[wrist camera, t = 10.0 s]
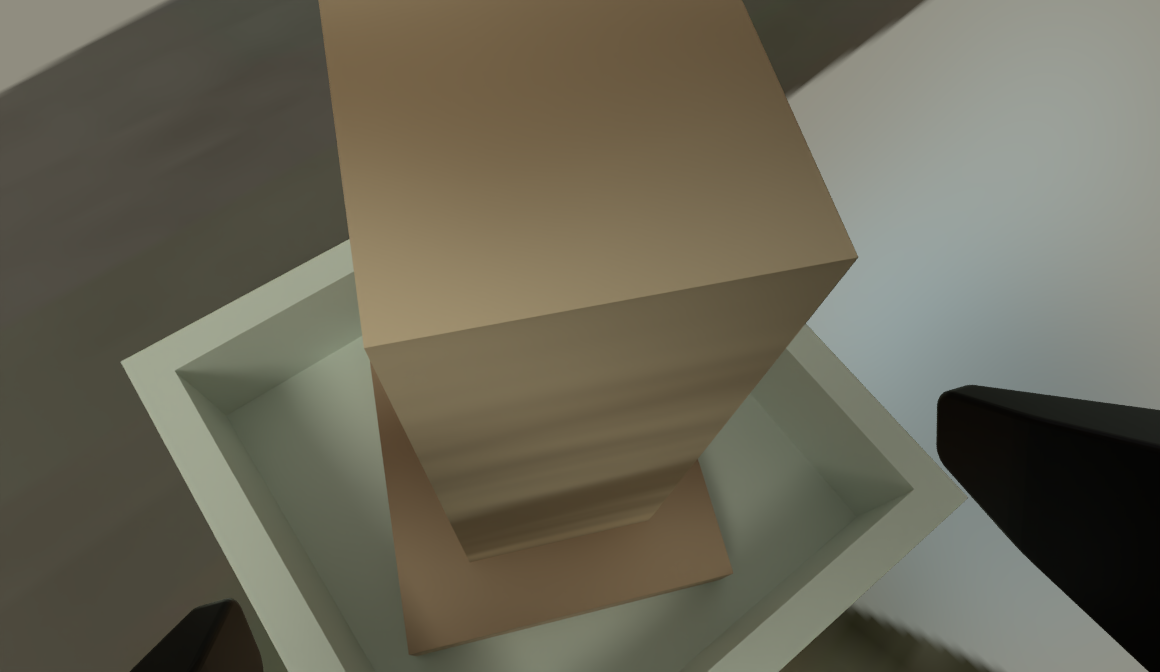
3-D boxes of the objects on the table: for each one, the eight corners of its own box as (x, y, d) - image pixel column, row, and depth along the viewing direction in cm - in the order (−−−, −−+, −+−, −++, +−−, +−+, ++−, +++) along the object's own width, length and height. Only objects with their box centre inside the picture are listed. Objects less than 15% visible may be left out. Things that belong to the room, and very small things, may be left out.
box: (892, 528, 18) (968, 497, 15) (467, 907, 15) (451, 971, 11) (590, 185, 22) (600, 103, 19) (190, 415, 18) (120, 361, 15)
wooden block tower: (720, 580, 17) (1109, 388, 6) (416, 656, 16) (148, 607, 5) (640, 314, 20) (793, -169, 8) (377, 364, 19) (146, -117, 7)
